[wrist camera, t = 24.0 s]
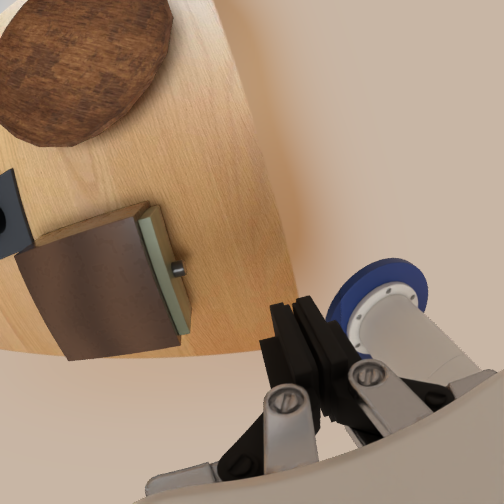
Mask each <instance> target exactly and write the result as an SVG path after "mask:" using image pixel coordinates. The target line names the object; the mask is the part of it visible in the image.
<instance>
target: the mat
mask: <svg viewBox="0 0 504 504" xmlns="http://www.w3.org/2000/svg"><path fill="white" fill-rule="evenodd" d="M0 208H1V209H2V210H3V212H4V214H5V218H6V227H5V230H4V232H3V233H2V234H0V259H3V258H5V257H7V256H10V255H12V254H15V253H17V252H20V251H22V250H23V249H24V248H26V247H27V246H28V245H30V244H31V243H33V242H34V240H33V237H32V234H31V231H30V228H29V225H28V222H27V219H26V216H25V213H24V209H23V206H22V202H21V199H20V195H19V191H18V187H17V183H16V179H15V175H14V170H13V168H12V169H10V170H8V171H6V172H5V173H3V174H1V175H0Z"/></svg>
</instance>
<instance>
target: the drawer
mask: <svg viewBox="0 0 504 504" xmlns="http://www.w3.org/2000/svg"><path fill="white" fill-rule="evenodd" d="M137 223H138V226H139V229H140V232H141V235H142V239H143V242H144V245H145V248H146V251H147V254H148V257H149V260H150V263H151V265H152V268H153V271H154V274H155V277H156V279H157V282H158V285H159V287H160V290H161V293H162V295H163V298H164V301H165V303H166V306H167V308H168V311H170V314H171V316H172V319H173V321H174V324H175V326H176V328H177V331H178V333H179V335H184V334H189V333H190V328H191V311H192V308H191V305H190V302H189V299H188V296H187V293H186V290H185V287H184V284H183V281H182V278H181V276H185V275H187V269H186V264H185V262H184V260H178V261H176V260H175V257H174V253H173V250H172V247H171V244H170V240H169V237H168V234H167V230H166V227H165V223H164V220H163V216H162V213H161V209H160V206H159V205H157V206H153V207H150V208H148V209H147V210H146V211H145V213H144V214H143V215H142V216H141V217H140V218H139V219H138V222H137Z"/></svg>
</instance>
